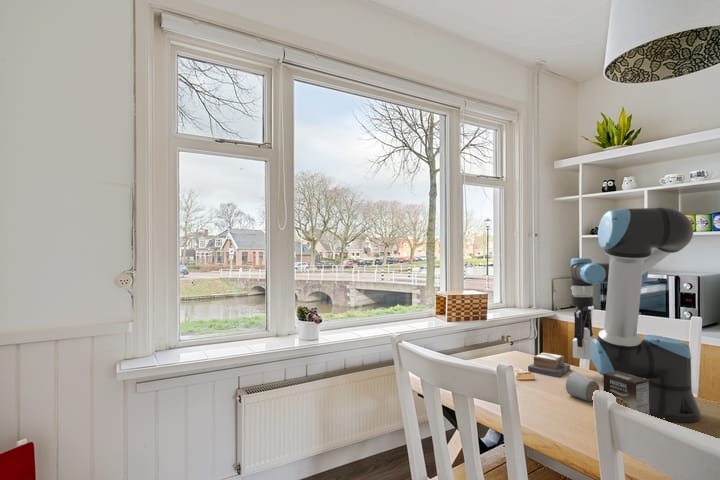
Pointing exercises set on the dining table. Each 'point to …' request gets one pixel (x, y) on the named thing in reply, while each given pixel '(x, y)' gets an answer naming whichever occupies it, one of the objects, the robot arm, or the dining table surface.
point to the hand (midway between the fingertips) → (584, 353)
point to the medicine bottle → (587, 345)
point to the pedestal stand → (549, 364)
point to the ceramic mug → (581, 386)
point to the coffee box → (628, 390)
